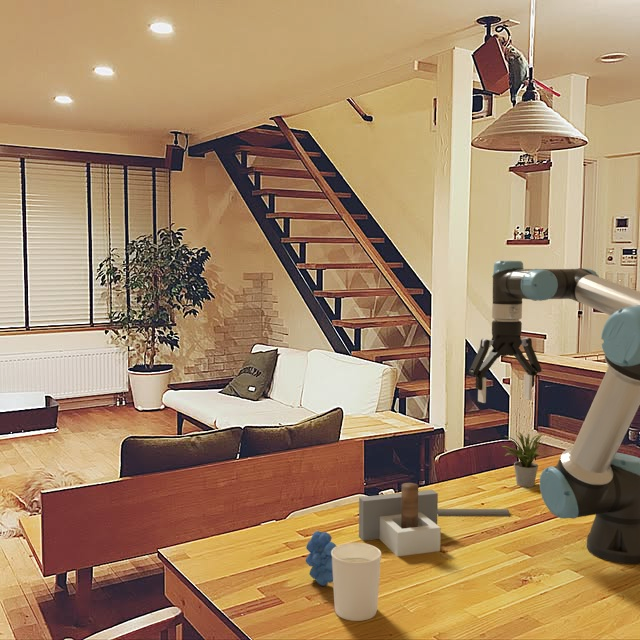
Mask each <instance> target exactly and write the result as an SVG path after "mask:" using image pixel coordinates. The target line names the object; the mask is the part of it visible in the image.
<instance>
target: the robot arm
mask: <svg viewBox="0 0 640 640" xmlns="http://www.w3.org/2000/svg"><path fill="white" fill-rule="evenodd" d="M492 271H493V273H492V308H491V309H492V310H491V318H492V319H493V320H492V322H491V336H492V337H491V339H486V338H481V340H480V343H479V349H478V350H477V353H476V355H475V356H474V359H473V361H472V363H471V365H470V368H469V370H468V374H469V375H471V376H474V378H475V389H476V390H477V402H479V403H482V404H486V403H487V377H485V375H486V373H487V372H489V370H490V369H491V367H492V366H493V365H494V364H495V362H496V360H497V359H498V358H500V356H501V357H506V356H509V357H513V356H514V357H515V359H516V360H517V361H518V363H519V364H520V365H521V367H522V368H523V370H524V371H525V372H526V373H523V390H522V391H523V393H522V394H523V397H522V398H523V399H525V400H528V401H532V395H533V393H532V392H533V391H532V390H533V387H534V386H535V376H537V375H538V373H541V372H542V371H543V370H542V367H541V364H540V362H539V359H538V357H537V355H536V353H535V350H534V348H533V343H532V342H533V340H532V338H530V337H527V336H523V337H521V335H522V330H523V329H522V325H523V324H522V322H521V321H520V320H522V315H523V300H531V301H534V302H536V301H537V302H538V301H540V302H541V301H547V300H573V301H575V302H577V303H580V304H582V305H585V306H587V307H589V308H592V309H594V310H597V311H599V312H602V313H604V314H606V315H608V316H609V317H608V318H607V320H606V321H605V323H604V325H603V328H602V332H601V340H602V341H603V342H602V343H601V348H602V351H603V353H604V361H605V363H606V364H607V369H606V371H605V374H604V376H603V378H602V380H601V383H600V385H599V387H598V390H597V392H596V394H595V396H594V399H593V401H592V403H591V406H590V408H589V410H588V412H587V414H586V416H585V419H584V421H583V423H582V425H581V428H580V430H579V432H578V435H577V436H576V439H575V442H574V444H573V445H572V448H567V449H566V450H563V452H562V453H561V455H560V458H559V460H558V462H557V464H556V465H555V466H552V465H551V466H548V467H545V468H544V469H543V470H542V471H541V474H540V477H539V490H540V493H541V498H542V501H543V502H544V504H545V506H546V508H547V509H548V511H549V512H550V513H551V514H553V515H554V516H555V517H556V518H559V519H573V520H574V519H576V518H581V517H582V518H583V517H588V516H594V515H595V517H594V519H593V522H592V524H591V528H590V531H589V533H588V535H587V536H586V537H587V538H586V549H587V550H588V551H589V552H590V553H591V554H592V555H594V556H595V557H598V558H600V559H602V560H606V561H609V562H613V563H618V564H626V565H640V457H638V456H635V455H630V454H628V453H627V454H626V453H622V452H618V450H619V448H620V446H621V444H622V442H623V440H624V438H625V437H626V436H625V435H626V434H627V432H628V430H629V428H630V426H631V423H632V422H633V420H634V417H635V416H636V413H637V412H638V410H639V408H640V291H639V290H636V289H633V288H630V287H628V286H625V285H622V284H620V283H616V282H613V281H610V280H608V279H605V278H602V277H600V276H599V274H598V273H597V272H596V271H595V270H593V269H591V268H581V267H579V268H524V263H523V262H522V260H496V261H495V262H494V263H493V270H492ZM521 345H522V347H523V349H524V352H525V354H524V353H523V352H522V350H521V349H520V348H521ZM491 347H492V349H491V350H490V351H489V349H490V348H491ZM488 352H489V353H488ZM487 354H488V355H487ZM525 355H526V357H527V358H526V357H525Z"/></svg>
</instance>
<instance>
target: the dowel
mask: <svg viewBox="0 0 640 640" xmlns="http://www.w3.org/2000/svg"><path fill="white" fill-rule="evenodd" d="M418 491H419V484H417V483H415V482H414V483H413V482H403V483H402V484H401V492H400V493H401V528H402V529H404V528H412V527H418Z"/></svg>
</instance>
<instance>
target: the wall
mask: <svg viewBox="0 0 640 640" xmlns="http://www.w3.org/2000/svg"><path fill="white" fill-rule="evenodd" d="M401 493H402V492H398V493H397V492H396V493H388V494H378V495H369V496H360V497H358V537H359V538H360V539H361V541H363V542H365V541H372V540H373V541H374V540H380V516H389V515H398V514H401ZM438 496H439V492H436V491H435V490H433V489H428V490H418V512H421V513H423V514H424V515H425V516H426V517H428V518H429V519H430V520H431V521H433V522H434V523H435V524H437V525H438V514H437V510H438V509H439V507H438V504H439V503H438V502H439V499H438V498H439V497H438Z"/></svg>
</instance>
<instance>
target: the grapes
mask: <svg viewBox="0 0 640 640" xmlns="http://www.w3.org/2000/svg"><path fill="white" fill-rule="evenodd" d="M332 538H333V537H332V535H330V533H329V532H326V531H324V532H321V531H320V530H315V531H314V532H313V533H312V535H311V539H310V540H309V541H308V542H307V544H306V546H305V548H306V550H307V551H308V552H309V553H308V555H307V557H306V558H305V563H306V564H307V565H308V566H310V567H311V569H310V571H309V575H310V577H311V578H312V579H314V580H316V583H317V584H318V585H320V586H322V587H325V586H326V585H328V584H331V583H332V584H333V571H332V556H331V551H332V549H333V548H335V547H336V546H337V545H336V543H334V542H332Z"/></svg>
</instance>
